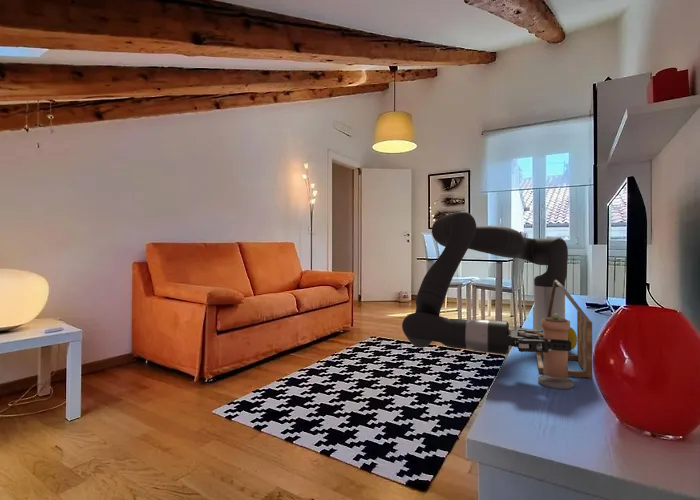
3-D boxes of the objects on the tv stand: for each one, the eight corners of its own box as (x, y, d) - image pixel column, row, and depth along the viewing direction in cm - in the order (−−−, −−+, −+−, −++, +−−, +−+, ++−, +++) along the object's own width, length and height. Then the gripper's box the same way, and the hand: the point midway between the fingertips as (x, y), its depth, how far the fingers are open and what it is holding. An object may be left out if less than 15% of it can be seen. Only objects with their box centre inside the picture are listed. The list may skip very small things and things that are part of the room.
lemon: (556, 348, 113) (556, 322, 113) (578, 351, 110) (577, 324, 110) (553, 353, 109) (553, 325, 109) (576, 356, 106) (576, 327, 106)
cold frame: (536, 355, 107) (535, 279, 107) (581, 359, 102) (581, 280, 102) (539, 372, 92) (538, 284, 92) (592, 378, 88) (592, 285, 88)
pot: (536, 370, 87) (536, 311, 87) (559, 369, 88) (559, 310, 88) (551, 379, 82) (551, 315, 81) (575, 378, 82) (576, 315, 82)
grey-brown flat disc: (531, 378, 88) (531, 375, 88) (560, 377, 89) (560, 374, 89) (550, 390, 81) (550, 386, 81) (581, 388, 82) (581, 384, 82)
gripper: (484, 326, 84) (574, 332, 77) (489, 315, 97) (566, 320, 90) (484, 360, 84) (574, 369, 77) (489, 344, 97) (565, 351, 90)
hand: (569, 343), depth 84 cm, fingers closed on pot, 4 cm apart
